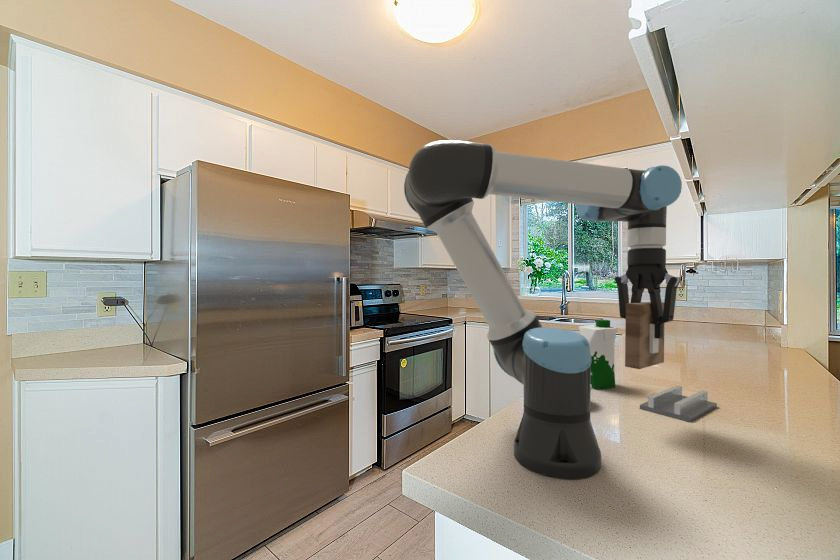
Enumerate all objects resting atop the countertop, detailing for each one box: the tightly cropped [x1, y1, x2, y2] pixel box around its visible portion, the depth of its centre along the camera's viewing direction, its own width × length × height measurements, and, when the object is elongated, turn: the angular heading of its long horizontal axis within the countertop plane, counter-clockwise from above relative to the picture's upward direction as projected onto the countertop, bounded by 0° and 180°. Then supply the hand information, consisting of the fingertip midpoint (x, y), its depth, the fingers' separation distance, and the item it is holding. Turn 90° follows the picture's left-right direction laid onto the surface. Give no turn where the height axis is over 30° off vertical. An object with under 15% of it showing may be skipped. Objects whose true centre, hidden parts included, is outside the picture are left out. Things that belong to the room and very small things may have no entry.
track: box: [639, 385, 718, 423], centre depth 97 cm, size 17×11×4 cm, turn 125°
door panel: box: [624, 301, 665, 370], centre depth 87 cm, size 12×3×14 cm, turn 125°
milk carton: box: [578, 319, 618, 390], centre depth 117 cm, size 9×9×20 cm
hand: (645, 351), depth 87 cm, fingers closed on door panel, 3 cm apart
